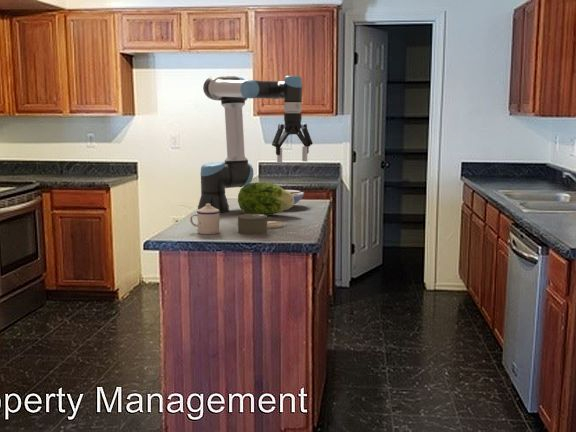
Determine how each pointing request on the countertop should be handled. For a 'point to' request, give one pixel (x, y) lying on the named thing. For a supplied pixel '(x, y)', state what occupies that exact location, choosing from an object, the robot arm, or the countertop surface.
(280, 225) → the beech coaster
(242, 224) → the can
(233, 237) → the countertop surface
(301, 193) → the ramen bowl
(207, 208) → the teacup with lid
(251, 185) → the lettuce
